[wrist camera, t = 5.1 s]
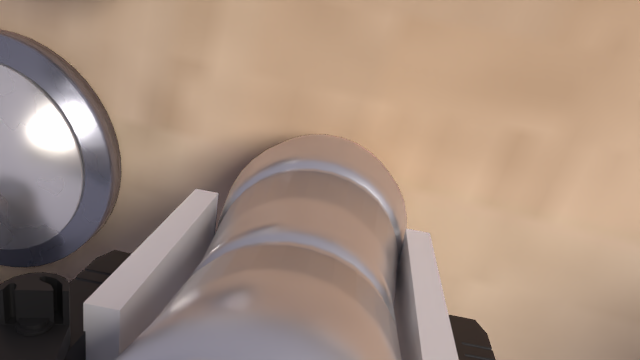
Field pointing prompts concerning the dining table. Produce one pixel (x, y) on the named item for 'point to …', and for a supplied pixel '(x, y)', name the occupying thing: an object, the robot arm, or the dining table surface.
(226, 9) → the dining table surface
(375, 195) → the plastic bottle
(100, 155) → the grey metal parts
